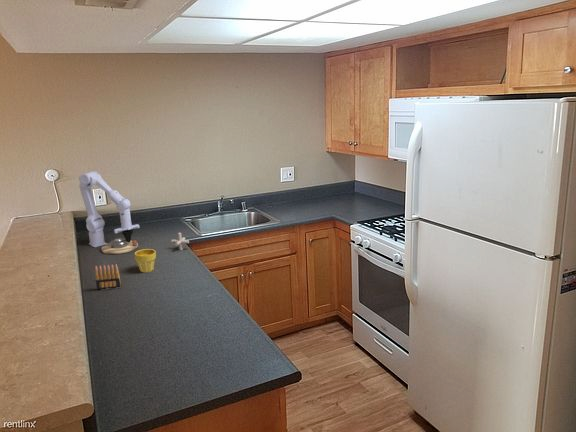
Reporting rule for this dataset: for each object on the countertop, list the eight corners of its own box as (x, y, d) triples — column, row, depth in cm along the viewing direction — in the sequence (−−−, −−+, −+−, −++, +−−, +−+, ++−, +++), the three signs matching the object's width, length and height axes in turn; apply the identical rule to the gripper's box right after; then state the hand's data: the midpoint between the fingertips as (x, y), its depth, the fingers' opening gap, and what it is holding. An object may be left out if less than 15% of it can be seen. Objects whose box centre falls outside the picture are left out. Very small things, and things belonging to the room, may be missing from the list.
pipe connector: (185, 253, 255) (184, 236, 253) (169, 252, 257) (167, 235, 254) (192, 247, 265) (191, 230, 262) (176, 246, 267) (175, 230, 264)
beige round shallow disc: (96, 248, 265) (95, 241, 264) (128, 240, 279) (128, 233, 277) (110, 256, 251) (109, 249, 250) (143, 247, 264) (143, 240, 263)
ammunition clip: (121, 286, 214) (118, 262, 211) (120, 288, 212) (117, 264, 209) (97, 288, 212) (94, 265, 209) (96, 290, 210) (93, 266, 207)
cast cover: (108, 246, 264) (107, 239, 263) (123, 242, 270) (122, 235, 269) (115, 249, 258) (114, 243, 257) (130, 245, 264) (129, 239, 263)
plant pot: (161, 267, 235) (159, 250, 232) (148, 275, 226) (145, 256, 223) (146, 265, 239) (144, 247, 237) (132, 272, 230) (129, 254, 228)
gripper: (116, 224, 257) (119, 246, 260) (140, 218, 266) (143, 240, 270) (111, 221, 262) (114, 243, 265) (135, 216, 271) (137, 237, 275)
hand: (128, 242), depth 268 cm, fingers closed
